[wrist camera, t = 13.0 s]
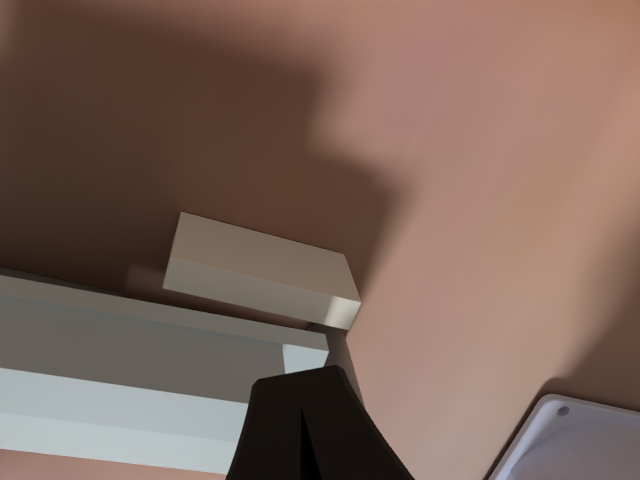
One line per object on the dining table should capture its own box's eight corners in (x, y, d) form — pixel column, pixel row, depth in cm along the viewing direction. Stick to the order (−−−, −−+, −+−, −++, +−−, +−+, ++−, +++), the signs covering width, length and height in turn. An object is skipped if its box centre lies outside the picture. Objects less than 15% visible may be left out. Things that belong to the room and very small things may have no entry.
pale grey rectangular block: (379, 263, 19) (426, 366, 14) (303, 434, 22) (321, 567, 18) (-218, 107, 15) (-439, 180, 10) (-211, 346, 18) (-378, 493, 13)
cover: (324, 334, 16) (343, 414, 13) (278, 459, 18) (286, 552, 15) (-101, 257, 14) (-190, 335, 11) (-101, 413, 16) (-177, 515, 13)
